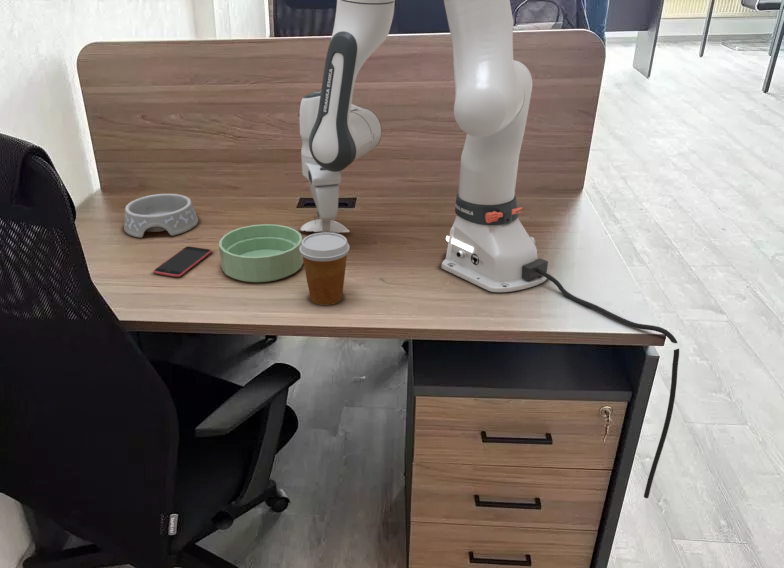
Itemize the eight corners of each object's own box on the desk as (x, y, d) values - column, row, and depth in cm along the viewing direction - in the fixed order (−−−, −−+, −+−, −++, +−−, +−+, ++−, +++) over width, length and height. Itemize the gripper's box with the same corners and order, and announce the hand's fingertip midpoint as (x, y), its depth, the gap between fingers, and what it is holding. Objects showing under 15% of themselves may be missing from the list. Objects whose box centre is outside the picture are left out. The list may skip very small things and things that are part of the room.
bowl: (316, 272, 152) (315, 246, 149) (237, 291, 147) (234, 264, 144) (285, 243, 166) (283, 218, 163) (212, 259, 161) (208, 234, 158)
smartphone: (151, 271, 156) (186, 245, 166) (152, 273, 156) (187, 247, 166) (179, 275, 153) (213, 249, 164) (179, 278, 153) (213, 251, 164)
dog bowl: (130, 214, 187) (126, 194, 184) (201, 209, 187) (198, 189, 184) (118, 240, 173) (114, 219, 170) (195, 235, 173) (192, 214, 170)
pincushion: (352, 229, 171) (351, 206, 168) (346, 239, 166) (345, 216, 163) (303, 226, 174) (302, 204, 171) (296, 236, 169) (294, 213, 166)
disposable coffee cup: (299, 308, 139) (295, 251, 133) (305, 286, 147) (302, 231, 141) (348, 310, 138) (347, 252, 132) (352, 287, 146) (351, 231, 140)
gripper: (302, 153, 170) (305, 209, 178) (313, 181, 153) (315, 242, 160) (328, 151, 171) (330, 207, 178) (342, 178, 153) (344, 239, 161)
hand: (323, 223), depth 169 cm, fingers closed on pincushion, 6 cm apart
